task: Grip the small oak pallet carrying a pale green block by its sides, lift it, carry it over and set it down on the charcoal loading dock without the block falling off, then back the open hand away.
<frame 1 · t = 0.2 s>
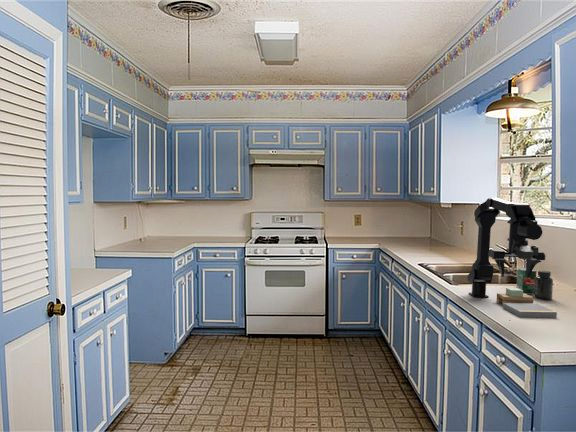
hand: (515, 277, 162), 14 cm above the countertop, fingers open, 9 cm apart
supplement bottle: (543, 298, 189), on the countertop
canned tomato: (525, 292, 199), on the countertop
pale green block: (514, 295, 177), point 4 cm above the countertop, touching pallet
dock: (528, 312, 165), on the countertop
pallet: (514, 304, 177), on the countertop, touching pale green block
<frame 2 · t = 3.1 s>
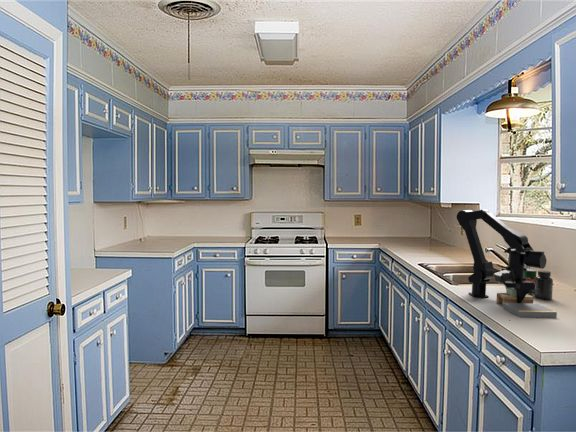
hand: (514, 301, 177), 1 cm above the countertop, fingers closed on pallet, 6 cm apart
pallet: (514, 304, 177), on the countertop, touching pale green block, gripper
everything else where it was.
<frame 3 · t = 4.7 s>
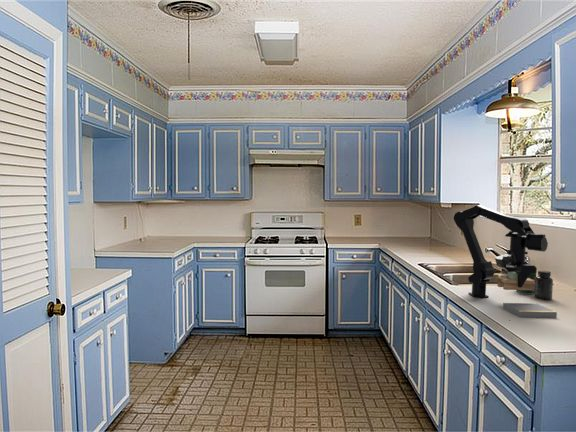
hand: (515, 285, 177), 8 cm above the countertop, fingers closed on pallet, 6 cm apart
pale green block: (515, 278, 177), point 11 cm above the countertop, touching pallet
pallet: (515, 288, 177), point 7 cm above the countertop, touching pale green block, gripper
everything else where it was.
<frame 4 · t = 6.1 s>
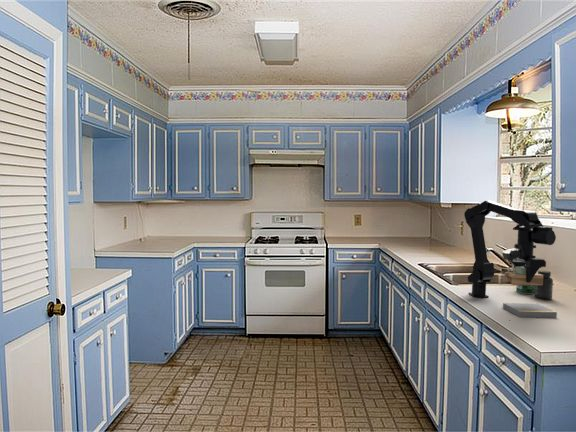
hand: (523, 280, 170), 11 cm above the countertop, fingers closed on pallet, 6 cm apart
pale green block: (523, 273, 170), point 14 cm above the countertop, touching pallet
pallet: (523, 283, 170), point 10 cm above the countertop, touching pale green block, gripper
everything else where it was.
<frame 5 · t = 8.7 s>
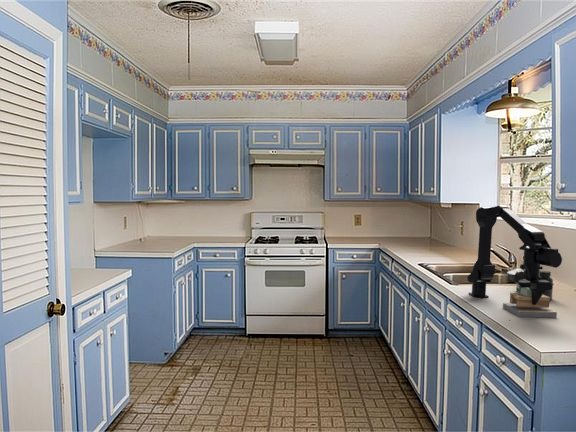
hand: (529, 302, 165), 4 cm above the countertop, fingers closed on pallet, 6 cm apart
pale green block: (529, 295, 165), point 7 cm above the countertop, touching pallet
pallet: (529, 305, 165), point 3 cm above the countertop, touching pale green block, gripper
everything else where it was.
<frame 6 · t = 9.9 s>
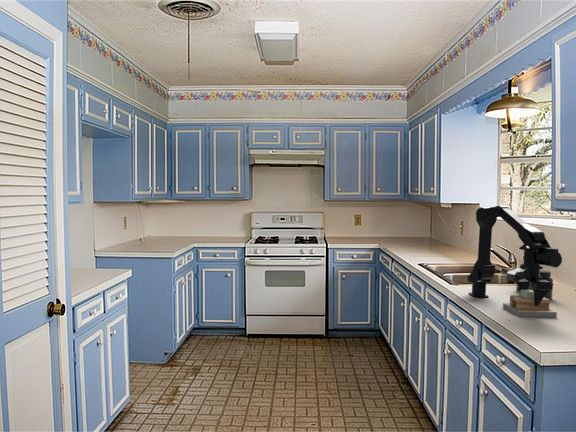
hand: (529, 302, 165), 4 cm above the countertop, fingers open, 9 cm apart
pallet: (529, 307, 165), point 2 cm above the countertop, touching pale green block, dock
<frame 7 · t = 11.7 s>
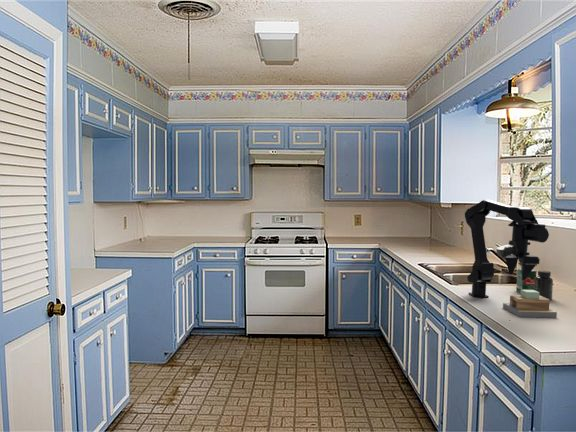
hand: (517, 277, 170), 13 cm above the countertop, fingers open, 9 cm apart
nothing on the countertop moved.
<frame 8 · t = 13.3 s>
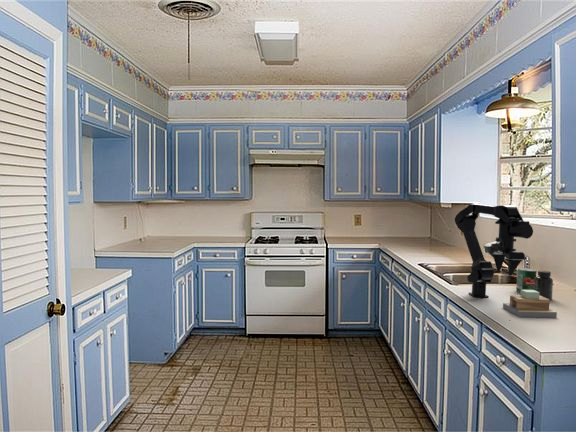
hand: (504, 273, 176), 13 cm above the countertop, fingers open, 9 cm apart
nothing on the countertop moved.
at the end: pallet inside the target area on the dock (0.0 cm from its centre), point 2.0 cm above the dock's base; pale green block inside the target area on the dock (0.0 cm from its centre), point 6.0 cm above the dock's base; the gripper is holding nothing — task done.
